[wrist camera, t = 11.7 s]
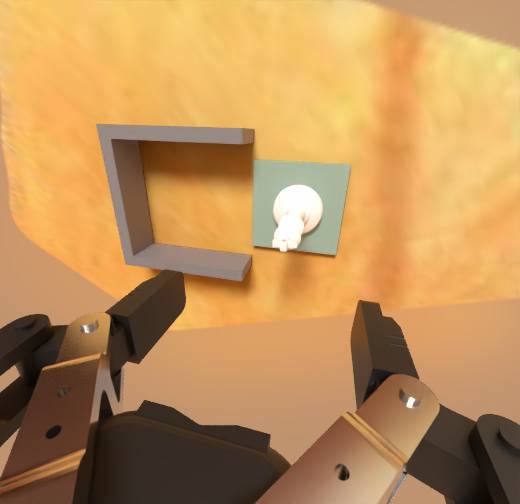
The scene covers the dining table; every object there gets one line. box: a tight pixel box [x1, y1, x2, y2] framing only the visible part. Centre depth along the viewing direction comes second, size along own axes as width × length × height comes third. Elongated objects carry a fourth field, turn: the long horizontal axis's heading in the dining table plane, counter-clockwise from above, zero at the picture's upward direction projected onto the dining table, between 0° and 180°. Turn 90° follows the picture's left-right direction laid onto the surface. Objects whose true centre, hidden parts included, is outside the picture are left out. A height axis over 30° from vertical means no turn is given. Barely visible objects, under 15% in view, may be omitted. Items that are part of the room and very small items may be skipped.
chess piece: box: [272, 185, 323, 251], centre depth 22 cm, size 5×5×10 cm
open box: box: [96, 124, 254, 281], centre depth 27 cm, size 14×14×4 cm
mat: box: [252, 159, 351, 255], centre depth 27 cm, size 9×9×1 cm
